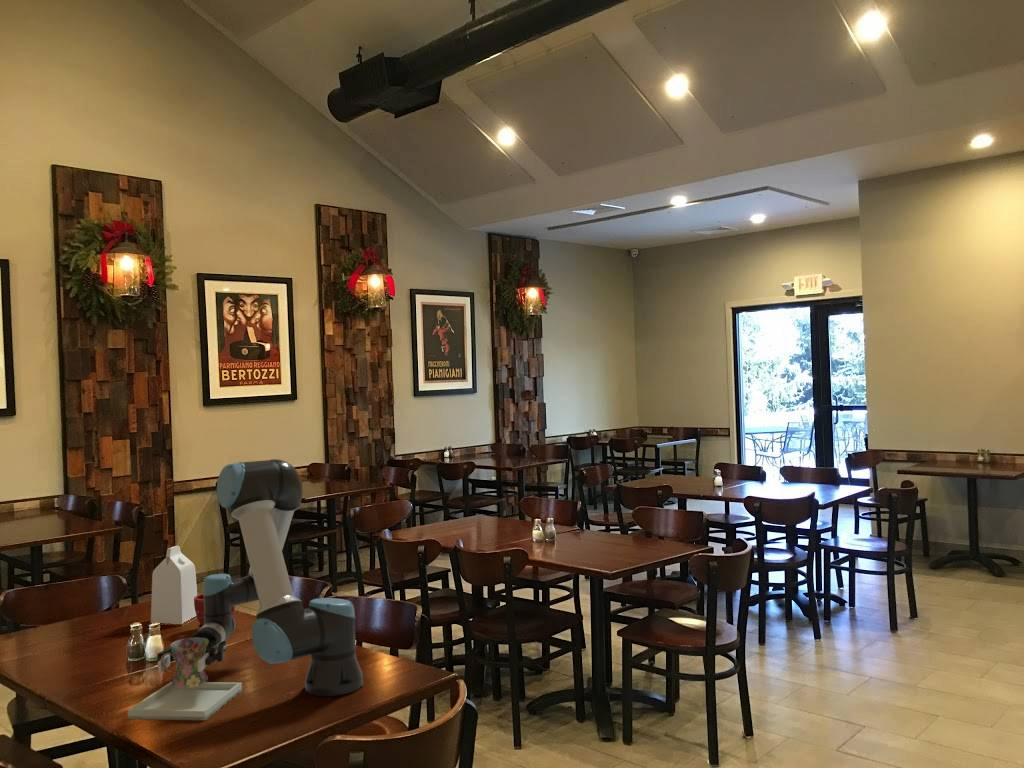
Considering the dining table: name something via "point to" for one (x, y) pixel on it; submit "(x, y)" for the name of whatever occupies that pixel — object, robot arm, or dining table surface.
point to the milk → (173, 589)
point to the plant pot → (200, 609)
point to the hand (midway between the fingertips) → (179, 667)
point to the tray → (185, 701)
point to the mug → (188, 661)
